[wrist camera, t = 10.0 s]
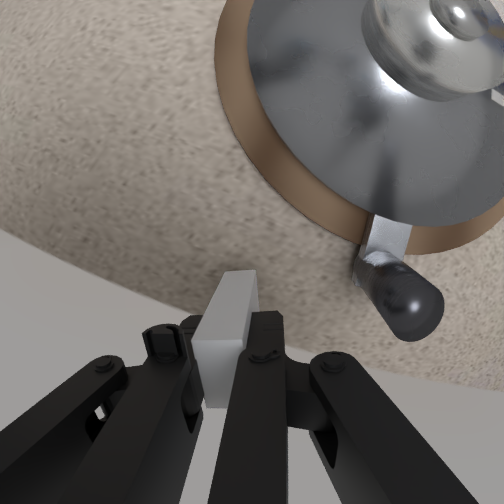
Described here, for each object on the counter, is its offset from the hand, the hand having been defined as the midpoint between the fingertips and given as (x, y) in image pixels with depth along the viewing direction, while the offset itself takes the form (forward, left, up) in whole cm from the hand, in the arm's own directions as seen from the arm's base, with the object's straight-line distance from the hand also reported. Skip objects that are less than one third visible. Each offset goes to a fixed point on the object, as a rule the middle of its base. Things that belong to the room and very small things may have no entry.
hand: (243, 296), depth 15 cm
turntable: (+7, +13, -3) cm, 15 cm away
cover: (+7, +17, -2) cm, 18 cm away
